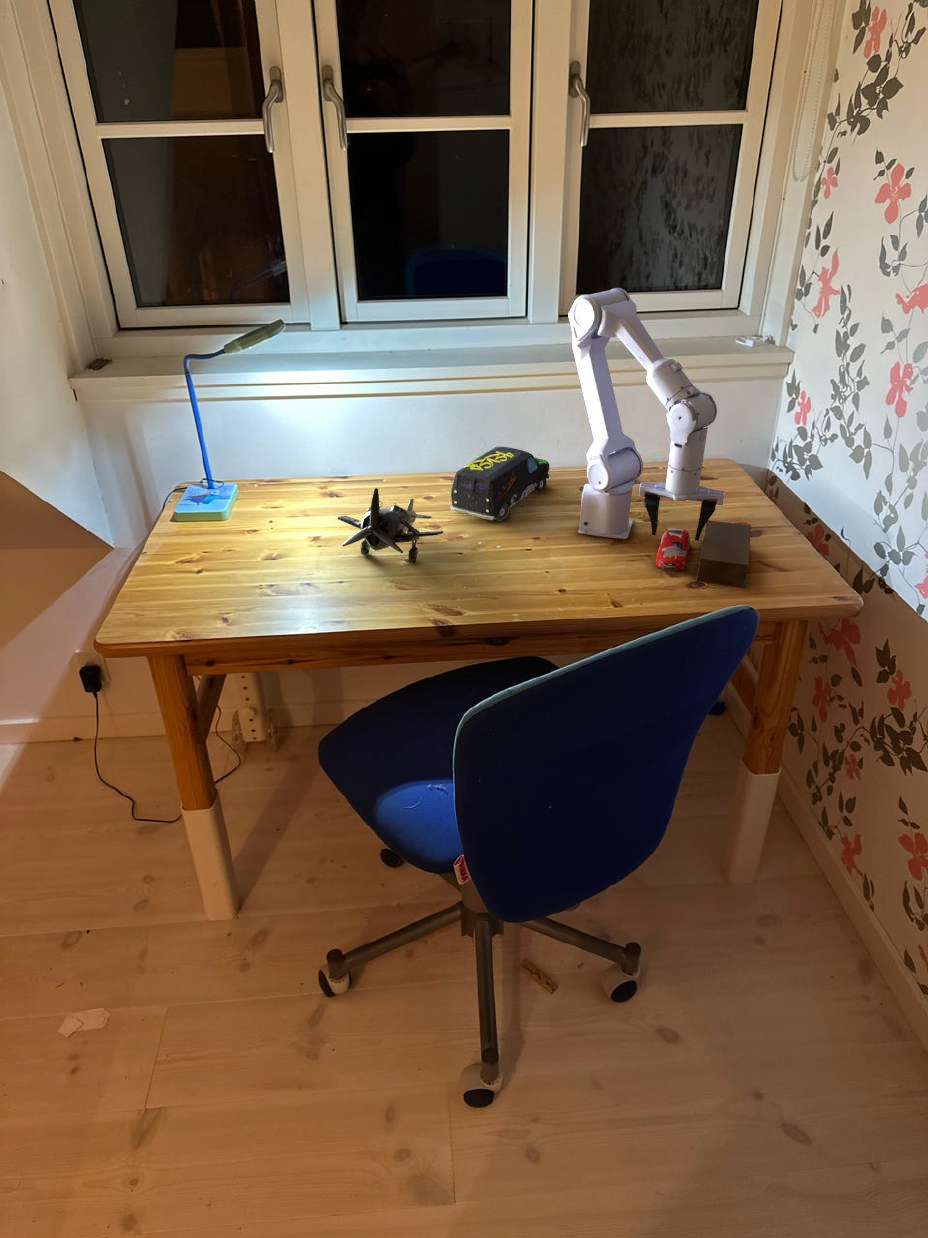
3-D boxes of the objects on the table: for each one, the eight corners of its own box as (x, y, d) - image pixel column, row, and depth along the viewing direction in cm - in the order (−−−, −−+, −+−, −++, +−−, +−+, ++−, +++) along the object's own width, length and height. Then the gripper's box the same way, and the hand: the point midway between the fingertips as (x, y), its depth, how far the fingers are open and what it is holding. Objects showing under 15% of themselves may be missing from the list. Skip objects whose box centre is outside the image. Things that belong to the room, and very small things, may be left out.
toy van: (551, 485, 183) (553, 441, 177) (493, 528, 165) (493, 481, 160) (508, 475, 187) (509, 432, 182) (448, 516, 170) (447, 470, 165)
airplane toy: (323, 566, 153) (314, 489, 144) (368, 522, 168) (363, 450, 160) (424, 584, 147) (421, 504, 139) (462, 537, 162) (461, 463, 154)
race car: (683, 576, 148) (686, 556, 146) (652, 571, 150) (654, 551, 148) (691, 543, 159) (694, 524, 157) (663, 539, 160) (665, 520, 158)
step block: (696, 581, 147) (700, 558, 144) (703, 541, 159) (706, 519, 157) (743, 587, 145) (748, 564, 142) (747, 546, 157) (751, 525, 155)
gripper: (639, 469, 143) (632, 539, 151) (727, 478, 140) (715, 550, 147) (645, 454, 149) (637, 523, 156) (729, 462, 145) (717, 533, 153)
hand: (675, 535), depth 152 cm, fingers open, 7 cm apart
